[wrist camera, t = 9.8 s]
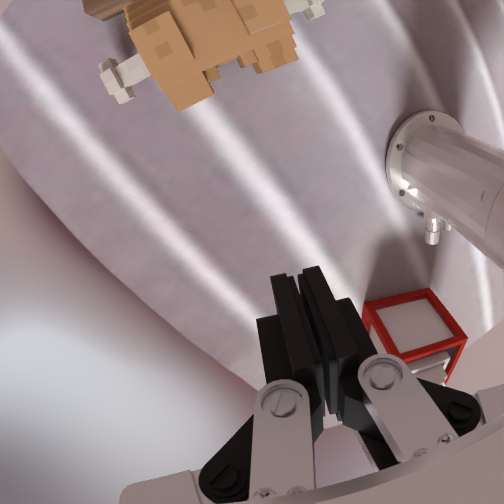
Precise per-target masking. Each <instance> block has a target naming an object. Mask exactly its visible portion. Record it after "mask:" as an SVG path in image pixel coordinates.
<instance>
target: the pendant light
mask: <svg viewBox="0 0 504 504" xmlns="http://www.w3.org/2000/svg"><path fill="white" fill-rule="evenodd" d="M361 320H362V322H363V324H364V326H365V328H366V330H367V332H368V334H369V336H370V338H371V340H372V342H373V344H374V346H375V348H376V350H377V352H378V354H391V355H394V356H396V357H398V358H400V359H401V360H402V361H403V362H404V363H405V364H406V365H407V366H408V368H409V369H410V370H411V372H412V373H413V374H414V376H415V377H417V378H420V379H423V380H426V381H430V382H433V383H436V384H439V385H442V386H445V385H446V383H447V381H448V379H449V377H450V375H451V373H452V371H453V369H454V367H455V365H456V363H457V361H458V359H459V357H460V355H461V352H462V350H463V348H464V346H465V344H466V341H467V339H468V337H467V336H466V334H465V333H464V332H463V330H462V329H461V328H460V326H459V325H458V324H457V322H456V321H455V320H454V318H453V317H452V316H451V314H450V313H449V312H448V310H447V309H446V308H445V307H444V305H443V304H442V303H441V301H440V300H439V299H438V298H437V296H436V295H435V294H434V293H433V291H432V290H431V289H430V288H426V289H422V290H418V291H414V292H410V293H405V294H401V295H397V296H392V297H388V298H383V299H379V300H374V301H369V302H365V303H364V304H363V312H362V319H361ZM445 387H446V386H445Z"/></svg>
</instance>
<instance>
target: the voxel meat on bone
mask: <svg viewBox="0 0 504 504" xmlns="http://www.w3.org/2000/svg"><path fill="white" fill-rule="evenodd" d="M322 2H324V0H137V1H135V2H133V3H131V4H129V5H128V6H126V7H124V8H123V10H124V12H125V13H126V15H124V16H125V18H126V20H127V22H128V23H126V24H127V26H128V28H129V30H130V32H128V33H129V35H130V37H131V39H132V41H133V43H134V44H135V46H136V48H137V50H138V52H139V53H138V54H136V55H134V56H132V57H131V58H129V59H127V60H126V61H124V62H122V63H121V64H119V65H118V63H117V61H116V59H110V58H108V59H107V60H105V61H104V62H102V63H101V64H99V65H98V66H99V68H100V69H101V71H102V73H101V74H100V77H101V79H102V81H103V83H104V85H105V87H106V89H107V90H108V92H109V94H110V95H114V96H115V97H116V99H117V101H118V103H119V104H122V103H126V102H127V101H129V100H131V99H132V98H134V97H136V96H135V95H134V93H133V91H132V89H131V88H132V87H133V85H135V84H136V83H138V82H140V81H142V80H143V79H145V78H147V77H148V76H150V75H151V76H152V78H153V79H156V81H157V83H158V84H159V86H160V88H161V90H162V91H165V93H166V95H167V97H168V98H169V100H170V102H173V104H174V105H175V107H176V109H177V111H178V112H180V111H181V110H183V109H185V108H187V107H189V106H191V105H193V104H195V103H197V102H199V101H201V100H203V99H205V98H207V97H210V96H212V95H214V91H213V89H212V87H211V85H210V82H212V81H214V80H216V79H218V78H220V75H219V73H218V71H217V69H216V68H218V67H220V66H222V65H224V64H227V63H229V62H231V61H233V60H236V59H237V61H238V63H239V65H240V67H241V68H243V67H245V66H248V65H250V64H252V65H253V67H254V69H255V71H256V73H257V74H258V73H264V72H267V71H269V70H272V69H274V68H277V67H279V66H282V65H285V64H287V63H290V62H293V61H296V60H298V59H299V58H298V56H297V54H296V52H295V49H294V48H295V47H297V46H296V44H295V42H294V39H293V37H292V35H293V34H295V33H294V31H293V29H292V27H291V25H290V23H289V21H290V20H292V18H291V16H290V15H291V14H294V13H297V12H300V13H301V12H304V13H305V15H306V17H307V19H308V20H311V19H314V18H318V17H320V16H322V15H324V14H326V13H325V11H324V9H323V7H322V5H321V3H322Z"/></svg>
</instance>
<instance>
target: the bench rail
mask: <svg viewBox="0 0 504 504" xmlns="http://www.w3.org/2000/svg"><path fill="white" fill-rule="evenodd" d="M135 1H137V0H82V2H83V6H84V11H85V13H86V14H88V15H90V16H93V17H95V18H98V19H100V20H102V21H105V20H107V19H109V18H112V17H114V16H117V15H119V14H122V13H124V10H123V8H124V7H126V6H128V5H129V4H131V3H133V2H135Z"/></svg>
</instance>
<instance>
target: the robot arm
mask: <svg viewBox="0 0 504 504" xmlns="http://www.w3.org/2000/svg"><path fill="white" fill-rule="evenodd" d="M396 146H397V147H396ZM386 174H387V180H388V183H389V186H390V189H391V190H392V192H393V194H394V196H395V197H396V198H397V199H398V200H399V201H400V202H401V203H402V204H403V205H405V206H406V207H407V208H409V209H411V210H413V211H417V212H424V219H425V220H426V227H425V242H426V243H427V244H430V245H435V244H438V243H439V235H440V228H439V226H440V222H441V221H442V220H443V229H445V230H448V231H449V230H452V229H453V228H454V229H455V230H457V231H458V232H459V233H460V234H461V235H462V236H464V237H465V238H466V239H467V240H468V241H469V242H471V243H472V244H473V245H474V246H475V247H476V248H477V249H478V250H480V251H481V252H482V253H483V254H484V255H485V256H486V257H487V258H488V259H489V260H491V261H492V262H493V263H494V264H495V265H496V266H497V267H498V268H499V269H501V270H502V271H503V272H504V150H501V149H499V148H497V147H495V146H492V145H490V144H488V143H485V142H483V141H481V140H478V139H476V138H473V137H471V136H468V135H466V133H465V131H464V130H463V128H462V127H461V125H460V124H459V123H458V122H457V121H456V120H455V119H454V118H452V117H451V116H449V115H448V114H445V113H442V112H438V111H433V110H430V111H422V112H419V113H416V114H414V115H412V116H410V117H409V118H408V119H407V120H405V121H404V122H403V123H402V124H401V125H400V127H399V128H398V129H397V130H396V132H395V134H394V136H393V138H392V139H391V142H390V145H389V148H388V152H387V157H386ZM270 279H271V284H272V289H273V294H274V299H275V304H276V309H277V315H273V316H268V317H264V318H259V319H256V322H257V328H258V334H259V340H260V347H261V353H262V359H263V365H264V371H265V377H266V383H267V384H266V385H265V386H264V387H263V388H262V389H260V391H259V392H258V394H257V396H256V399H255V403H254V414H253V415H252V416H251V417H250V418H249V420H248V421H247V422H246V423H245V424H244V425H243V426H242V427H241V428H240V429H239V430H238V431H237V432H236V434H234V436H233V437H232V438H231V439H230V440H229V441H228V442H227V443H226V444H225V445H224V446H223V447H222V448H221V449H220V450H219V451H218V452H217V453H216V454H215V455H214V456H213V457H212V458H211V459H210V460H209V461H208V462H207V463H206V464H205V466H204V467H203V468H202V469H199V470H196V471H192V472H191V471H190V470H187V471H183V472H179V473H176V474H172V475H168V476H164V477H160V478H156V479H151V480H147V481H142V482H138V483H134V484H131V485H128V486H127V487H126V488H125V489H124V490H123V491H122V493H121V495H120V502H119V504H504V384H503V385H499V386H496V387H492V388H488V389H484V390H480V391H477V393H476V394H474V395H470V394H467V393H465V392H462V391H458V390H455V389H452V388H449V387H445V386H442V385H439V384H436V383H433V382H430V381H426V380H423V379H420V378H417V377H415V376H414V374H413V373H412V372H411V370H410V369H409V368H408V366H407V365H406V364H405V363H404V362H403V361H402V360H401V359H400V358H398V357H396V356H394V355H391V354H378V352H377V350H376V348H375V346H374V344H373V342H372V340H371V338H370V336H369V334H368V332H367V330H366V328H365V326H364V324H363V322H362V320H361V318H360V316H359V314H358V312H357V310H356V308H355V307H354V305H353V303H352V301H351V299H350V298H344V299H340V300H335V298H334V296H333V294H332V292H331V290H330V288H329V286H328V283H327V281H326V279H325V277H324V275H323V273H322V271H321V269H320V267H319V266H314V267H310V268H306V269H303V274H298V283H299V291H300V294H299V291H298V289H297V286H296V283H295V280H294V277H293V276H290V277H287V275H286V273H283V274H279V275H275V276H270ZM325 400H326V404H327V407H328V411H329V413H330V415H331V414H335V413H336V416H337V420H338V421H342V422H343V425H345V426H348V427H350V428H352V429H353V431H354V434H355V436H356V438H357V440H358V442H359V444H360V445H361V447H362V449H363V451H364V453H365V455H366V457H367V459H368V460H369V462H370V464H371V466H372V468H373V470H374V473H372V474H368V475H365V476H362V477H359V478H355V479H352V480H349V481H345V482H341V483H337V484H334V485H330V486H326V487H322V488H316V467H315V448H314V442H315V441H316V440H317V438H318V437H319V435H320V434H321V433H322V431H323V417H324V416H325Z"/></svg>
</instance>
